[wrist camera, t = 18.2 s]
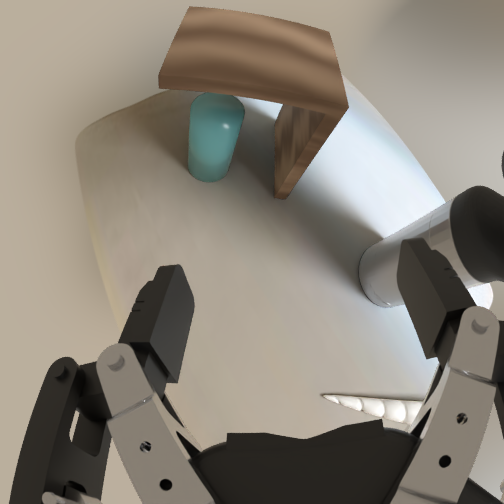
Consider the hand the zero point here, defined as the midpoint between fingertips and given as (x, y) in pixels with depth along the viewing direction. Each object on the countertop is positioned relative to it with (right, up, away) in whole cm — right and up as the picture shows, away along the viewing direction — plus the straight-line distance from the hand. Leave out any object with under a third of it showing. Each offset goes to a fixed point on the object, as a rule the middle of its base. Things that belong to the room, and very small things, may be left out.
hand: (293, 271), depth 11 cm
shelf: (-4, +15, +29) cm, 33 cm away
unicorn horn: (+19, -22, +24) cm, 38 cm away
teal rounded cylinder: (-7, +12, +28) cm, 31 cm away
